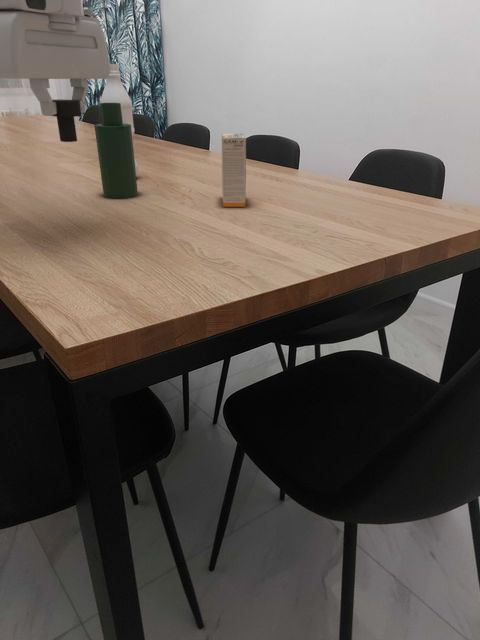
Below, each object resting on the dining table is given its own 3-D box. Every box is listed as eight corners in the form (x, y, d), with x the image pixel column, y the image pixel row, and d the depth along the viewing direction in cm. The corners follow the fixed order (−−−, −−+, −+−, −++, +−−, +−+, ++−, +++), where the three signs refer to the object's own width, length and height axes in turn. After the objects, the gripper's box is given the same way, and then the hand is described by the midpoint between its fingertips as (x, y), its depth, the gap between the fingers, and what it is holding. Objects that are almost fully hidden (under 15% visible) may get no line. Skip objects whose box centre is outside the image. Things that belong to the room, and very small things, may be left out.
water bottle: (139, 175, 130) (128, 64, 117) (138, 180, 123) (127, 64, 111) (111, 176, 128) (97, 63, 116) (108, 181, 122) (93, 63, 110)
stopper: (58, 143, 73) (52, 101, 70) (48, 140, 76) (41, 99, 73) (89, 142, 75) (84, 101, 73) (78, 138, 78) (72, 99, 76)
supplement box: (246, 207, 101) (246, 137, 95) (222, 207, 101) (221, 137, 95) (244, 198, 109) (244, 132, 102) (222, 198, 108) (221, 132, 102)
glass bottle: (112, 200, 105) (100, 104, 96) (98, 193, 110) (85, 102, 101) (143, 195, 109) (134, 103, 100) (128, 190, 114) (119, 101, 105)
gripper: (79, 9, 76) (92, 109, 83) (-34, -11, 60) (-7, 117, 66) (114, 9, 75) (124, 111, 81) (7, -12, 58) (30, 120, 64)
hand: (64, 114), depth 74 cm, fingers closed on stopper, 4 cm apart
